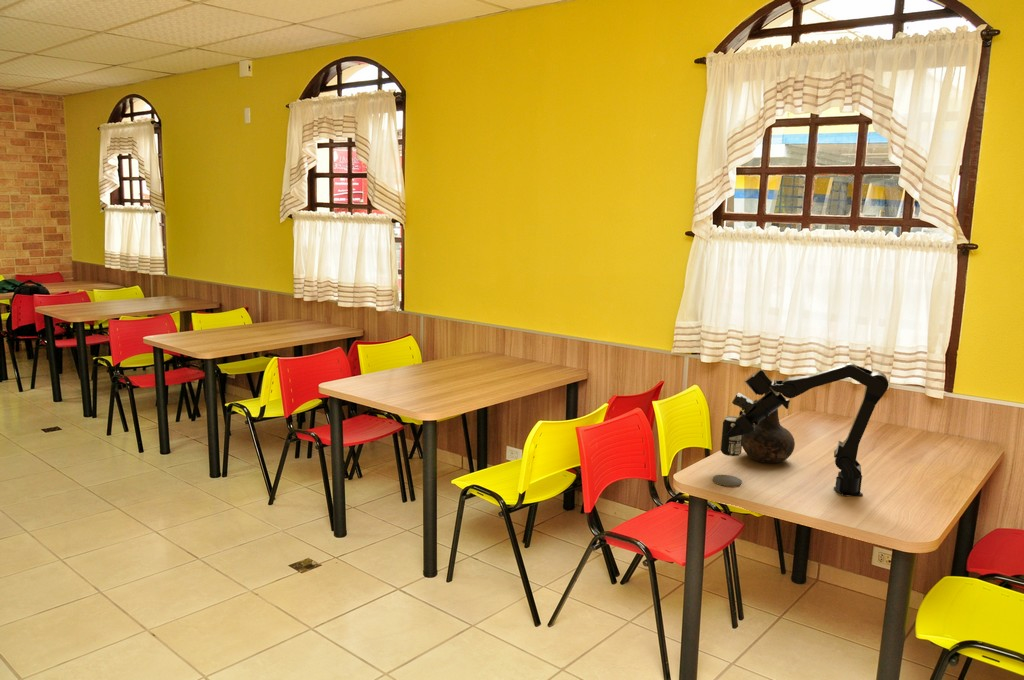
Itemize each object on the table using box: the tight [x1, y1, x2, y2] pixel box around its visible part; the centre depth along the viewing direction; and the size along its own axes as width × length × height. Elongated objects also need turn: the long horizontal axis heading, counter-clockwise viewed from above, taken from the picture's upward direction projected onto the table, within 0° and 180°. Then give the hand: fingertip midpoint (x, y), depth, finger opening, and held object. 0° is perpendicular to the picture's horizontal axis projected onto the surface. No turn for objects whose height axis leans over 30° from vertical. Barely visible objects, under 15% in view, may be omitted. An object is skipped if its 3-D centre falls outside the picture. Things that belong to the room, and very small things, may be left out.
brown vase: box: [742, 390, 796, 464], centre depth 270 cm, size 18×18×28 cm
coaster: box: [712, 474, 743, 487], centre depth 247 cm, size 9×9×1 cm
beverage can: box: [720, 416, 743, 457], centre depth 254 cm, size 7×7×12 cm
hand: (728, 433), depth 254 cm, fingers closed on beverage can, 7 cm apart
